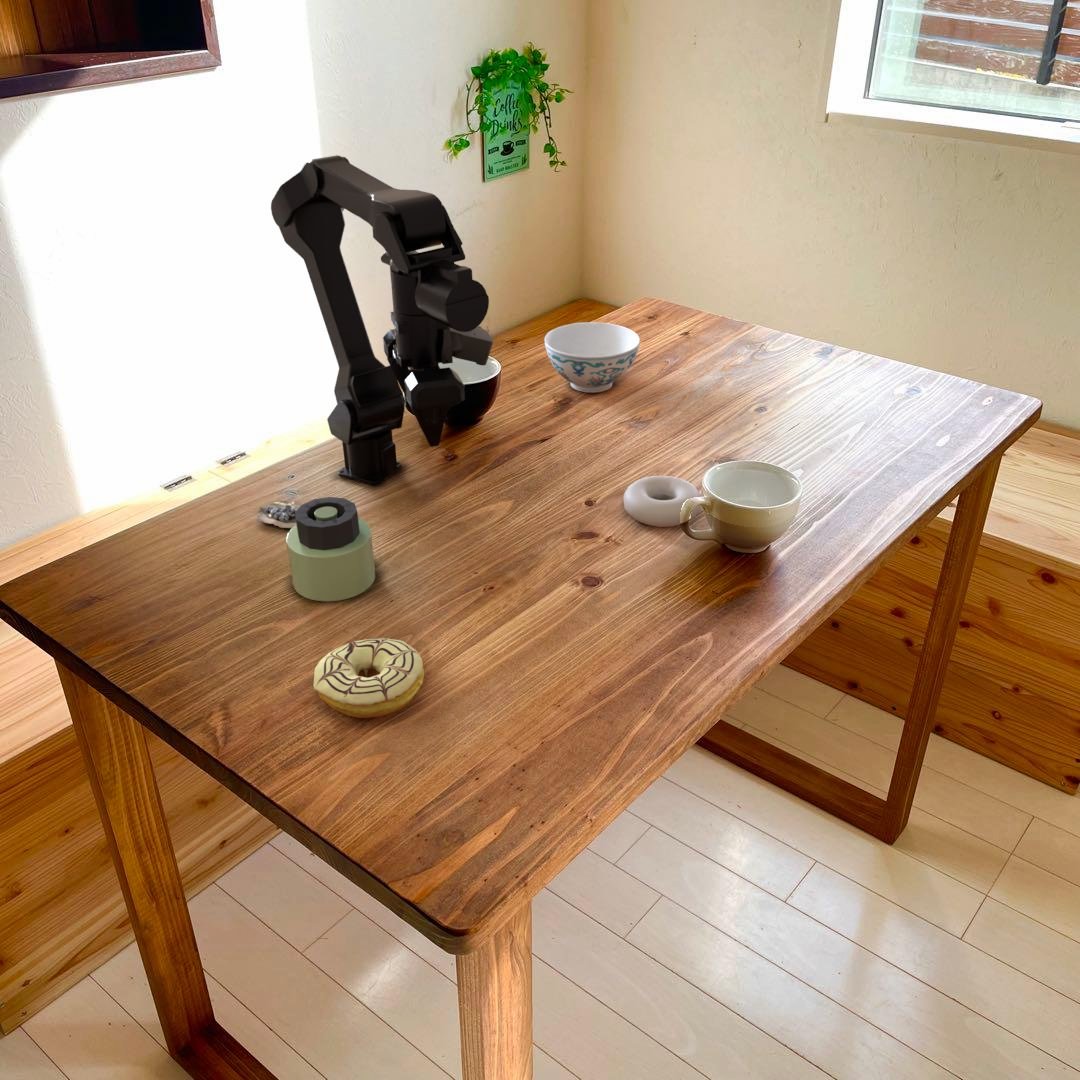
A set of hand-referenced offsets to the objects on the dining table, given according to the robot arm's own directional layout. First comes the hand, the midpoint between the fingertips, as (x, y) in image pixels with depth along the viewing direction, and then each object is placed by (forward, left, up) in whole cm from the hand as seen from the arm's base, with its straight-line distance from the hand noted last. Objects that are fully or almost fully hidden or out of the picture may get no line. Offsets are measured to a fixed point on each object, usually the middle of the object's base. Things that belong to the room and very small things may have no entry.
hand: (426, 429), depth 136 cm
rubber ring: (-2, -18, -6) cm, 19 cm away
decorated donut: (+14, -33, -12) cm, 38 cm away
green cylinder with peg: (-2, -18, -12) cm, 22 cm away
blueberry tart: (-16, -9, -12) cm, 22 cm away
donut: (+26, +14, -12) cm, 32 cm away
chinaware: (0, +47, -12) cm, 49 cm away
